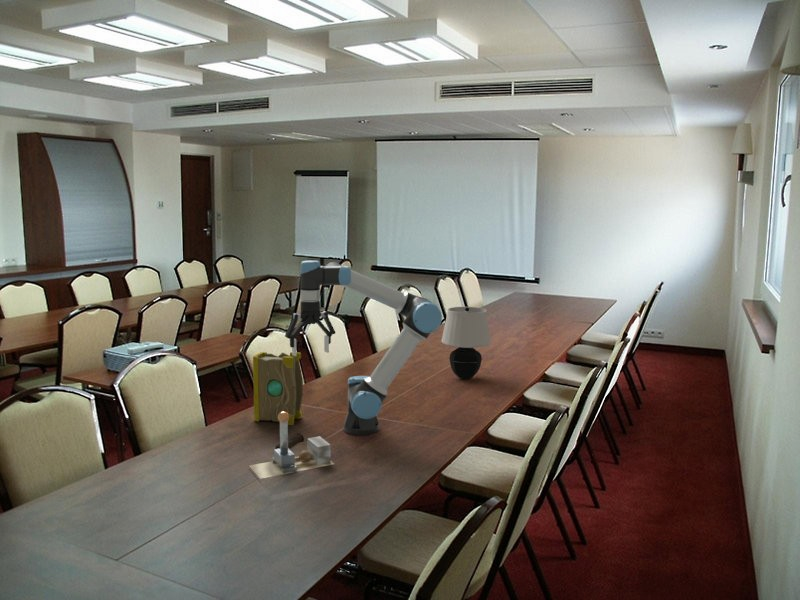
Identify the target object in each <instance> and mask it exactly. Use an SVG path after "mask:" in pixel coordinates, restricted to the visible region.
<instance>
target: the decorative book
mask: <svg viewBox="0 0 800 600" xmlns="http://www.w3.org/2000/svg"><path fill="white" fill-rule="evenodd" d="M296 354H297V356H293V355H292V351H291V352H290V353H289V354H287V353H285V352H281V353H280V354H279V355H276V354H273V353H268V351H261V352H260V351H259V353H257V354H255V355H253V356H252V369H253V370H252V374H253V377H252V379H253V382H252V383H253V421H254V422H259V421H268V422H269V421H272V422H276V423H280V421H279V419H278V415H279V413H280V412H283V411H285V412H287V413H288V414H289V420H288V426H294V424H295V419H297V420H298V419H301V418H302V417H303V412H302V411H301V408H302V402H303V396H304V388H303V387H304V386H303V381H304V379H303V373H302V370H301V364H300V359H301V358H302V353H301V352H297V351H296Z"/></svg>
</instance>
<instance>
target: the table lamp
mask: <svg viewBox="0 0 800 600" xmlns="http://www.w3.org/2000/svg"><path fill="white" fill-rule="evenodd" d="M487 313H488V310H487V309H486V308H481V307H475V306H454V307H453V306H452V307H449V308H447V312H446V319H445V323H444V327H443V332H442V337H441V340H440V341H441V343H442V344H443V345H446V346H448V347H454V348H455V349H454V350H452V351H451V352H450V354H449V358H448V359H449V365H450V368H451V370H452V372H453V373H454V375H455V376H456V377H458V379H460V380H465V381H469V380H470V379H472V378H473V377H475V376H476V375H477V374H478V372H479V370H480V368H481V365H482V360H483V357H482V354H481V353H480V351H478V350H477V349H478V348H483V347H489V346H490V345H491V344H492V341H491V335H490V328H489V321H488V314H487ZM476 348H477V349H476Z"/></svg>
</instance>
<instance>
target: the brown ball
mask: <svg viewBox="0 0 800 600" xmlns="http://www.w3.org/2000/svg"><path fill="white" fill-rule="evenodd" d="M298 456H299V459H300V461H301V462H307V461H310V459H311V454H310V452H309V451H307V449H306V450H302V451H301V452H300V453H299V455H298Z"/></svg>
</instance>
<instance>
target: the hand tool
mask: <svg viewBox="0 0 800 600" xmlns="http://www.w3.org/2000/svg"><path fill="white" fill-rule="evenodd" d="M304 440H305V437H304V435H303V434H301V433H296V434H294V436H292V437H291V438H290V437H289V438H288V449H290V448H292V447H293V446H295V445H296V444H298V443H304ZM278 448H280V442H279V443H278V444H276V445H275V448H274V449H278Z"/></svg>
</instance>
